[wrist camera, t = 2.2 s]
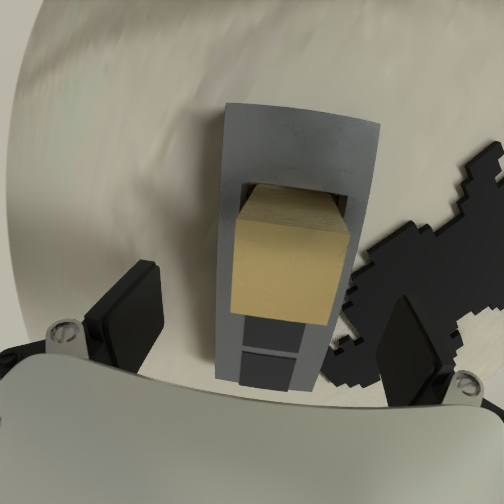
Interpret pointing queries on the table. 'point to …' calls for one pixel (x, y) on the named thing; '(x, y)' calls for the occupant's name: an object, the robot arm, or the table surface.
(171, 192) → the table surface
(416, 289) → the black pixelated cutout
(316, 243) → the block
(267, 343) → the rail
